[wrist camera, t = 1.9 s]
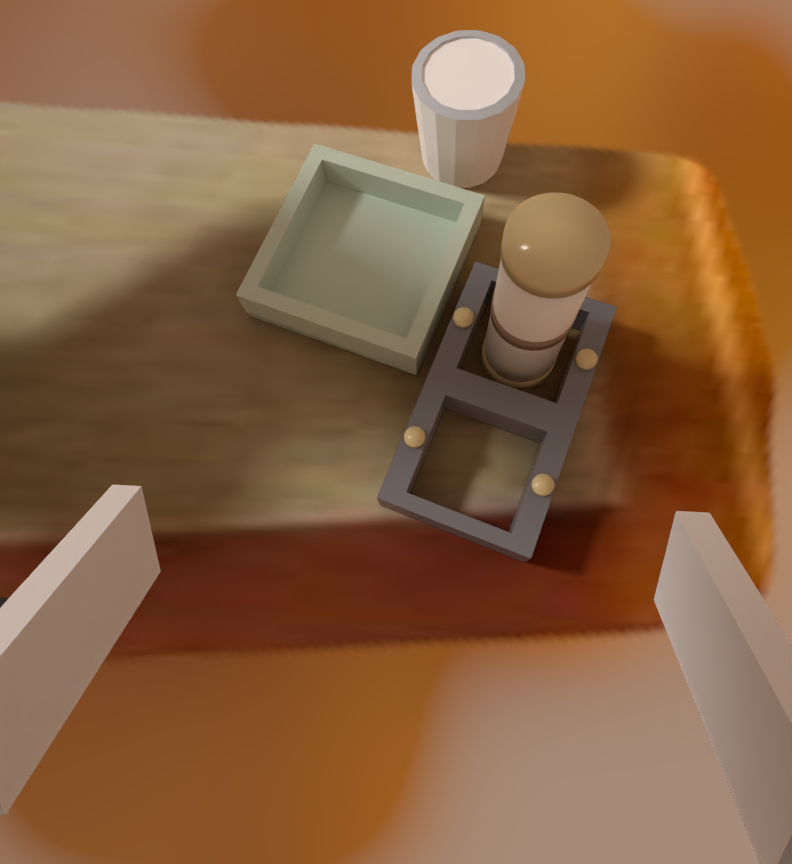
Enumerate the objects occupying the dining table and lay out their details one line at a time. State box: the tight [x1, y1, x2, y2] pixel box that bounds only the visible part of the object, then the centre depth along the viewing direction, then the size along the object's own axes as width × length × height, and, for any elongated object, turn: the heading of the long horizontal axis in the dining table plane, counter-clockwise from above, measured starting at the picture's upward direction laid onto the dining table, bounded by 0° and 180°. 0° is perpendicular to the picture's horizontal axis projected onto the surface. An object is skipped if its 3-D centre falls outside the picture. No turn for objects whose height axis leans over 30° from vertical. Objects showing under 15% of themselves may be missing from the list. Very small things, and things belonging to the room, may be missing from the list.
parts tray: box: [236, 144, 485, 376], centre depth 41 cm, size 12×12×3 cm
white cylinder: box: [412, 30, 525, 188], centre depth 41 cm, size 7×7×7 cm
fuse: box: [481, 192, 611, 391], centre depth 33 cm, size 5×5×13 cm
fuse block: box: [377, 261, 617, 562], centre depth 37 cm, size 9×16×3 cm, turn 158°
